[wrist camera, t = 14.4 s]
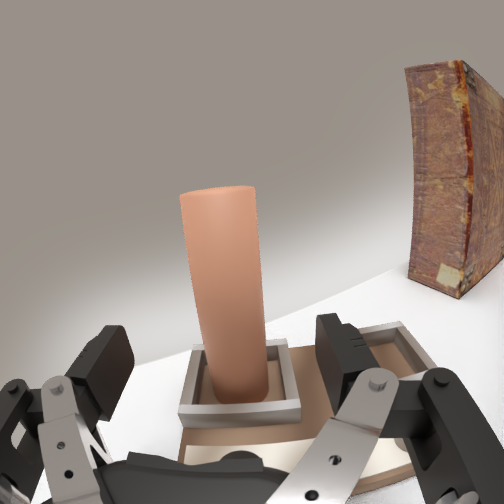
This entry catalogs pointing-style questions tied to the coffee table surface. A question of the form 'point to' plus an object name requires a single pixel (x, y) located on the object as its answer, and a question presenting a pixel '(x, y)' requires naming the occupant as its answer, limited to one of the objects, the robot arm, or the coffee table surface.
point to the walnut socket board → (292, 409)
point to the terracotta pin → (228, 289)
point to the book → (455, 176)
